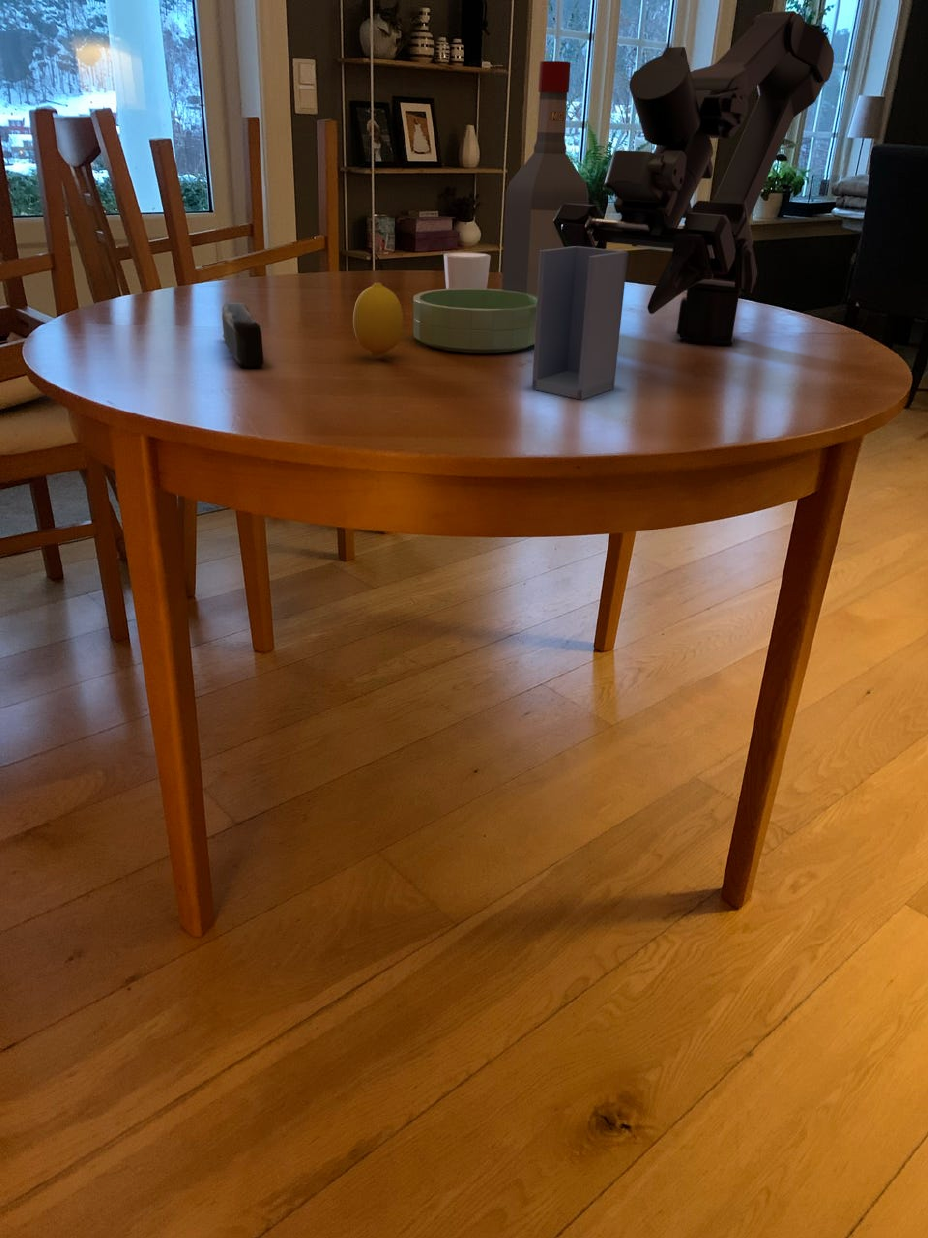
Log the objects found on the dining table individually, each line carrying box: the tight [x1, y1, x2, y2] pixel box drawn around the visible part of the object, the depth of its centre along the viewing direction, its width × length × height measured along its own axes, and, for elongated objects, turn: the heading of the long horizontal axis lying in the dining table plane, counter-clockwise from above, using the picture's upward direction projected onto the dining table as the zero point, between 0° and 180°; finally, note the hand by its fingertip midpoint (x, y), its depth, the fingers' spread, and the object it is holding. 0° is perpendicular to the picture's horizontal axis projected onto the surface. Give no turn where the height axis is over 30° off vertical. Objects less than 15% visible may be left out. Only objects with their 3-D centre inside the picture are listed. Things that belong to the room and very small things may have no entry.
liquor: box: [501, 60, 590, 297], centre depth 113 cm, size 9×9×30 cm
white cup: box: [443, 251, 492, 289], centre depth 130 cm, size 7×7×7 cm
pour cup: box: [531, 246, 629, 401], centre depth 87 cm, size 6×6×13 cm
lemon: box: [352, 282, 404, 359], centre depth 99 cm, size 6×6×8 cm
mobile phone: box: [221, 301, 264, 368], centre depth 99 cm, size 5×3×15 cm
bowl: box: [412, 288, 537, 354], centre depth 109 cm, size 16×16×5 cm
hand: (608, 305), depth 91 cm, fingers open, 9 cm apart
